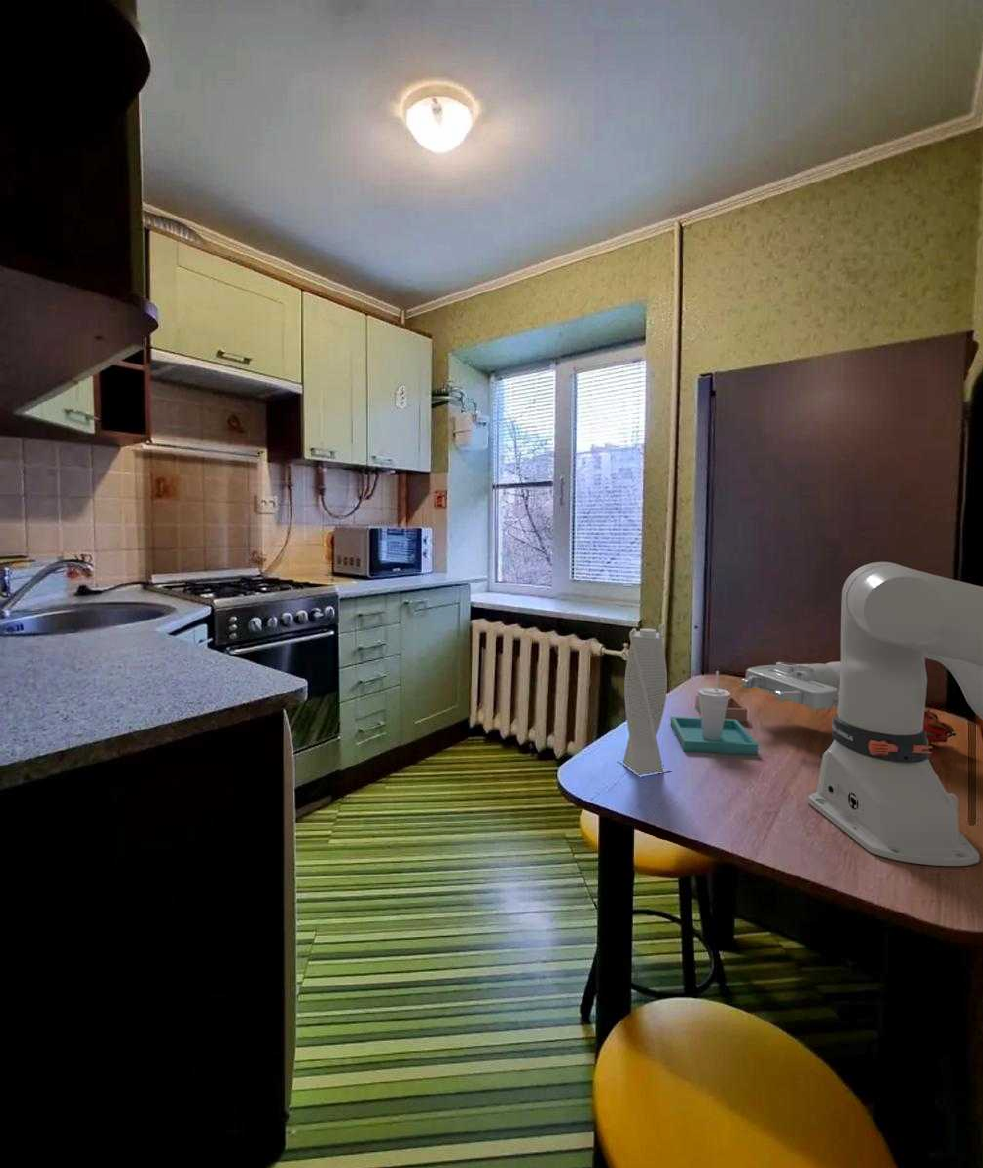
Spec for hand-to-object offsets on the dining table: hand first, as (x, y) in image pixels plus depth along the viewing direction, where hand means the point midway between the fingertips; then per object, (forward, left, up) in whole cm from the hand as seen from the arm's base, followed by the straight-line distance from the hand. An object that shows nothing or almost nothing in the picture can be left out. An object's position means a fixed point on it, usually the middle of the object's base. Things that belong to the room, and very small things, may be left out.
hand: (760, 690), depth 120 cm
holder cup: (+11, +5, -10) cm, 15 cm away
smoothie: (-5, +11, -9) cm, 15 cm away
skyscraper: (-21, +27, -10) cm, 36 cm away
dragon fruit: (-1, -31, -10) cm, 33 cm away
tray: (-5, +11, -10) cm, 15 cm away
